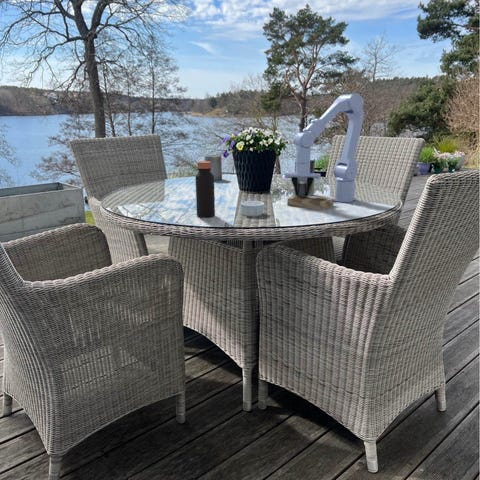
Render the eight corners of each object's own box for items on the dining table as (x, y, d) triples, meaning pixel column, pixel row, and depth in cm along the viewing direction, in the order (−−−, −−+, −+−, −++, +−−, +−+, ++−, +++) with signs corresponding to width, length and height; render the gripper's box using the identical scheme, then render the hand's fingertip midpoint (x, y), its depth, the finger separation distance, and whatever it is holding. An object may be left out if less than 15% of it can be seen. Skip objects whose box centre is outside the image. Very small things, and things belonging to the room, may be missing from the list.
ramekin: (268, 214, 161) (268, 202, 159) (253, 218, 154) (253, 206, 153) (250, 210, 166) (250, 199, 165) (235, 214, 160) (235, 203, 159)
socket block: (298, 201, 183) (298, 193, 182) (332, 205, 174) (333, 197, 173) (287, 205, 175) (287, 197, 174) (323, 209, 166) (323, 201, 165)
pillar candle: (215, 177, 251) (214, 152, 247) (225, 179, 244) (224, 153, 240) (202, 179, 246) (200, 153, 241) (211, 181, 238) (210, 154, 234)
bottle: (193, 216, 157) (191, 162, 151) (204, 212, 162) (202, 160, 156) (207, 218, 153) (205, 163, 147) (218, 215, 159) (217, 161, 153)
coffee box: (301, 193, 201) (302, 159, 197) (313, 194, 198) (315, 159, 193) (293, 196, 194) (294, 161, 189) (306, 197, 191) (308, 161, 186)
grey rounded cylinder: (299, 201, 179) (300, 181, 176) (307, 202, 177) (308, 182, 174) (295, 202, 176) (296, 182, 174) (303, 203, 174) (304, 183, 172)
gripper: (320, 162, 174) (319, 194, 178) (285, 161, 176) (284, 193, 180) (321, 163, 168) (319, 197, 172) (284, 163, 170) (283, 196, 174)
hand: (301, 195), depth 176 cm, fingers closed on grey rounded cylinder, 3 cm apart
